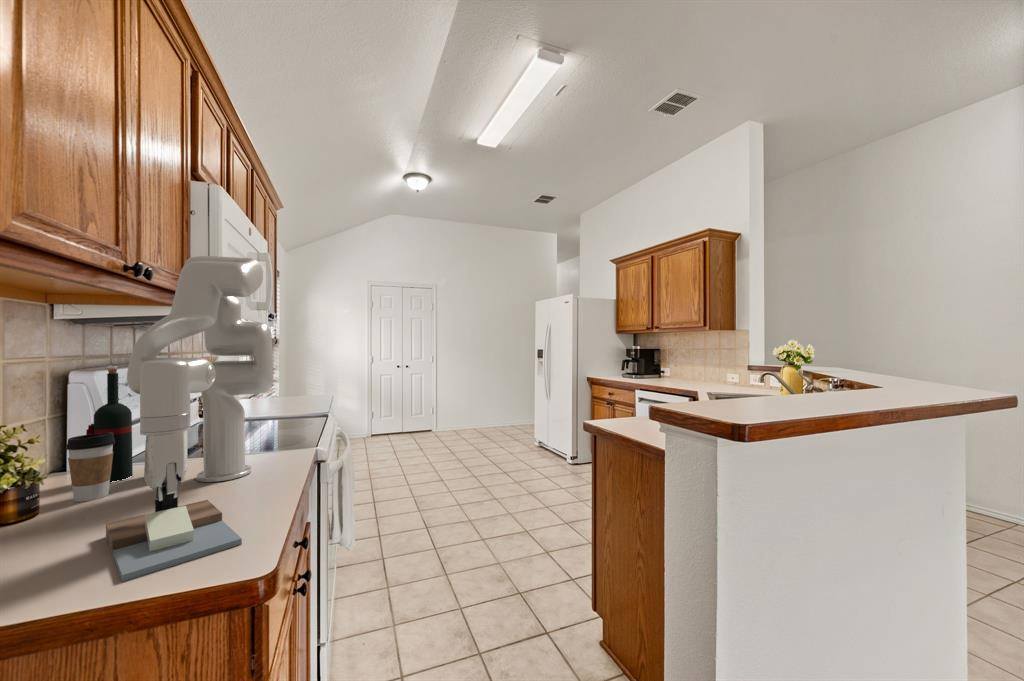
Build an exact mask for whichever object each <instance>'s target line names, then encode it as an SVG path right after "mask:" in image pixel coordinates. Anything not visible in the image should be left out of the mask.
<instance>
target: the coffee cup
mask: <svg viewBox="0 0 1024 681" xmlns="http://www.w3.org/2000/svg"><path fill="white" fill-rule="evenodd" d="M114 443H115V439H114V435H113V432H108V433H99V434H90V435H86V434H85V435H77V436H72V437H70V438H68V439H67V443H66V445H65V447H66V448H65V450H67V451H68V458H67V459H68V460H67V461H68V468H69V473H70V474H69V475H70V480H71V486H72V487H71V488H72V496H73V497H72V498H73V501H74V502H75V501H77V502H78V503H81V502H82V503H83V501H84V502H91V501H95V500H101V499H103V498H105V497H107V496H108V495H109V492H110V484H111V483H110V476H111V468H112V459H113V452H112V449H113V444H114ZM77 502H76V503H77Z"/></svg>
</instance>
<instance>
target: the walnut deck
mask: <svg viewBox="0 0 1024 681" xmlns="http://www.w3.org/2000/svg"><path fill="white" fill-rule="evenodd" d="M182 506H186V508H187V511H188V514H189V517H190V520H191V523H192V526H193V528H197V527H201V526H204V525H208V524H212V523H215V522H219V521H223V512H222V511H221V510H220V509H218V507H216V506H215V505H214V504H213V503H212V502H211V501H209V500H208V499H204V500H200V501H197V502H192V503H188V504H187V503H186V504H182V505H178V507H182ZM154 512H155V511H153V512H152V513H154ZM145 514H146V513H144V514H141V515H136V516H132V517H128V518H127V517H126V518H124V519H120V520H115V521H112V522H106V523H105V538H106V540H107V544H108V545H109V546H108V547H109V549H110V552H111V556H113V550H116V549H119V548H123V547H127V546H130V545H134V544H138V543H141V542H145V541H148V540H147V535H146V529H145Z"/></svg>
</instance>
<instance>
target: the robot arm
mask: <svg viewBox="0 0 1024 681" xmlns="http://www.w3.org/2000/svg"><path fill="white" fill-rule="evenodd" d="M263 281H264V270H263V267H262V265H261V263H260V262H259V261H258V260H256V259H255V258H250V257H249V258H248V257H233V256H219V255H217V256H216V255H198V256H197V255H196V256H192V257H190V258H188V259H186V260H185V263H184V265H183V266H182V268H181V269H180V272H179V276H178V279H177V284H176V290H175V294H174V296H173V301H172V305H171V308H170V311H169V312H170V313H168V314H167V315H166V316H164V317H163V318H161V319H159V320H158V321H156V322H155V323H154V324H152V325H151V326H150V327H148V329H146V330H145V331H144V333H142V334H141V335H140V336H139V337H138V338H137V340H136V342H135V344H134V345H133V348H132V352H131V356H130V358H129V359H130V360H129V362H128V367H127V372H126V382H127V385H128V388H129V389H130V390H131V391H132V392H134V393H136V394H139V416H140V417H139V420H140V421H139V429H140V430H139V434H140V435H141V436H145V444H144V446H145V448H144V469H143V470H144V471H143V472H144V474H143V478H144V480H143V481H144V482H145V483H146V484H147V486H148V487H149V488H150V489H152V490H155V499H154V512H158V511H163V510H168V509H173V508H177V507H178V506H179V498H178V497H179V496H178V484H179V485H181V484H183V482H184V481H185V476H186V471H185V447H184V443H185V441H184V431H187V430H188V431H189V430H191V394H197V393H201V399H202V400H201V402H202V412H203V413H202V418H203V419H202V421H203V422H202V425H203V426H202V427H203V428H202V430H203V431H202V432H203V433H202V434H203V436H202V438H203V440H202V442H203V451H202V452H203V471H200V472H199V473H197V474H196V481H198V482H201V483H214V482H215V483H216V482H218V483H219V482H223V481H224V482H226V481H230V480H234V479H239V478H243V477H245V476H246V475H249V474H250V473H252V466H250V465H247V464H246V453H245V452H246V443H245V442H246V440H245V439H246V438H245V437H246V431H245V430H246V427H245V425H246V424H245V423H246V422H245V420H246V419H245V416H246V415H245V408H244V406H243V405H242V403H241V402H240V401H239V400H238V399H237V398H236V397H235V396H243V395H244V396H245V395H260V394H267V393H268V392H269V391H270V390H271V389H272V387H273V384H274V383H273V382H274V360H273V359H274V355H273V352H274V350H273V335H272V332H271V329H270V327H269V325H267V324H266V323H264V322H259V321H242V305H241V303H240V300H239V299H238V298H244V297H245V298H247V297H250V296H251V295H252V294H253V293H255V292H256V291H258V290H259V288H260V287H261V286H262V283H263ZM202 332H204V333H203V334H204V345H205V350H206V352H207V353H208V354H210V355H212V356H216V357H217V356H219V357H238V356H239V357H242V356H243V357H245V356H246V357H247V356H248V357H249V356H250V357H252V359H253V360H216V361H209V360H208V359H206V358H203V357H158V355H159V354H160V353H161V351H163V349H165V348H167V347H168V346H170V345H171V344H173V343H175V342H178V341H180V340H183V339H186V338H189V337H192V336H195V335H197V334H200V333H202Z"/></svg>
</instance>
